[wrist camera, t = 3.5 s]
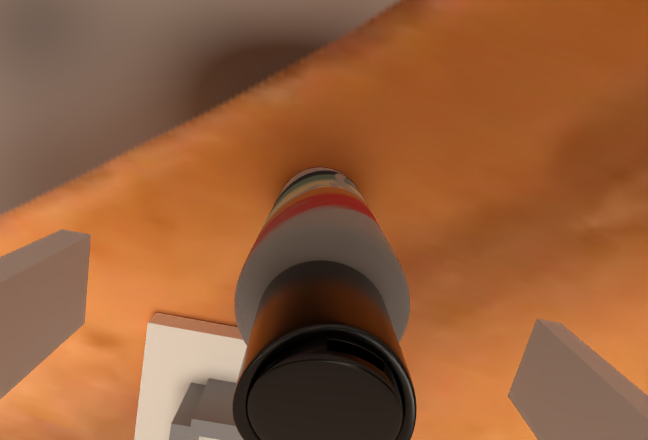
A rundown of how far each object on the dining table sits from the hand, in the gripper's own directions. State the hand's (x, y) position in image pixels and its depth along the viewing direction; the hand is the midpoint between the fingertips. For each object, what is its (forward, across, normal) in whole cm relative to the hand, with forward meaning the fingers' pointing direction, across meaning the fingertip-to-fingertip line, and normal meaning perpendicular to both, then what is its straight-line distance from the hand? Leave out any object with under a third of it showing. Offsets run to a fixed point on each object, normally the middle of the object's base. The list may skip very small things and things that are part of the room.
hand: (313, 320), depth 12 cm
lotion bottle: (+16, 0, 0) cm, 16 cm away
